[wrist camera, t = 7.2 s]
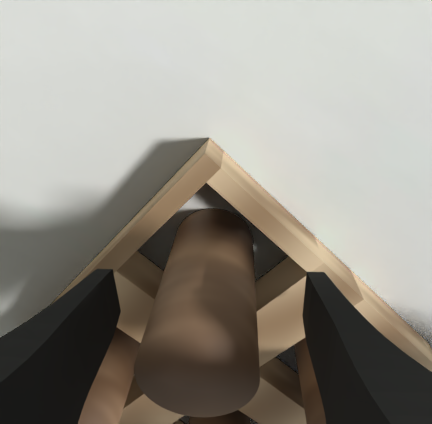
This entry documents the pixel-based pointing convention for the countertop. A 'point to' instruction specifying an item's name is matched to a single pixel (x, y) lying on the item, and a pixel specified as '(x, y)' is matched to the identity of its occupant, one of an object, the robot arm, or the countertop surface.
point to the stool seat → (265, 304)
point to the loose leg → (203, 321)
